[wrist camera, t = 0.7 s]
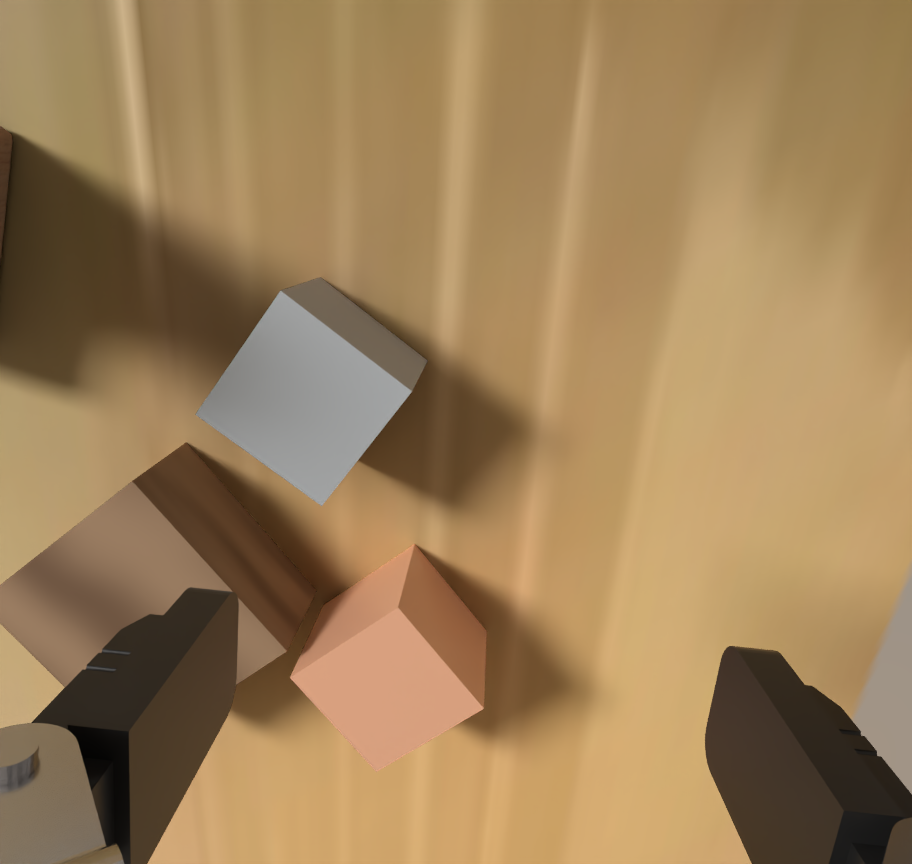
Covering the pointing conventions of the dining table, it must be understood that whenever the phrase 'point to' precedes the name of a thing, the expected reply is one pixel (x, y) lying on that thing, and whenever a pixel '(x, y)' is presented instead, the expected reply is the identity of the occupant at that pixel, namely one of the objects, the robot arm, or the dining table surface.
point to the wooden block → (4, 177)
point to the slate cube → (312, 387)
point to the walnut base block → (155, 571)
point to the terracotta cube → (395, 660)
